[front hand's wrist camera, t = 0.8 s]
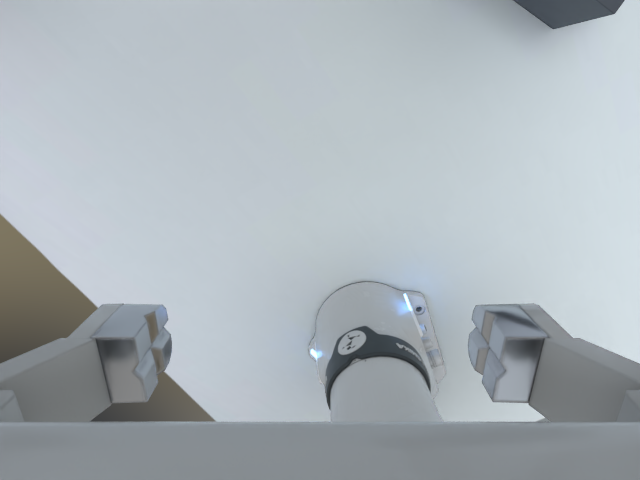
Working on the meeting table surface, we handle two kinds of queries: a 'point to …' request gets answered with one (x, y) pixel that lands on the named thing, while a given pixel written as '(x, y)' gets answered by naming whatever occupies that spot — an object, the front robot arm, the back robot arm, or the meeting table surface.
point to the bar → (569, 10)
